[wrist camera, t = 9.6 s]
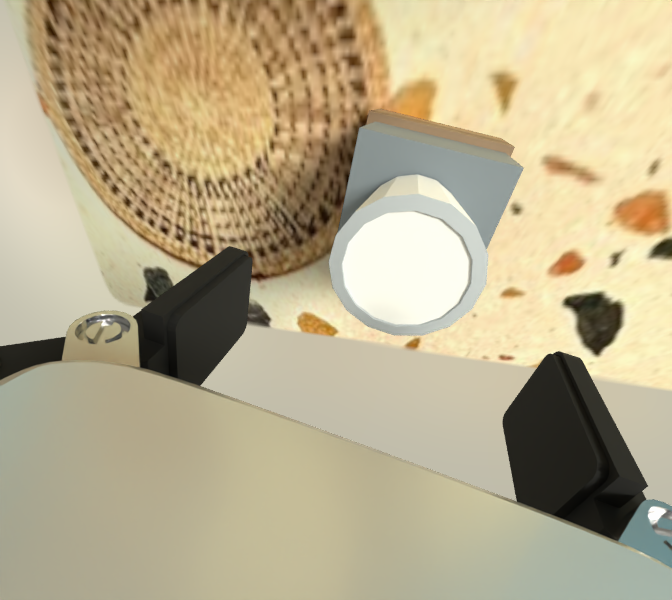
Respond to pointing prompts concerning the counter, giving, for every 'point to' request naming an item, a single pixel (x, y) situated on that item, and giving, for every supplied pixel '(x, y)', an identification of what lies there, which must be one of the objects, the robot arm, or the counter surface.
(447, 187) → the slate top block
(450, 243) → the shot glass
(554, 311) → the counter surface
